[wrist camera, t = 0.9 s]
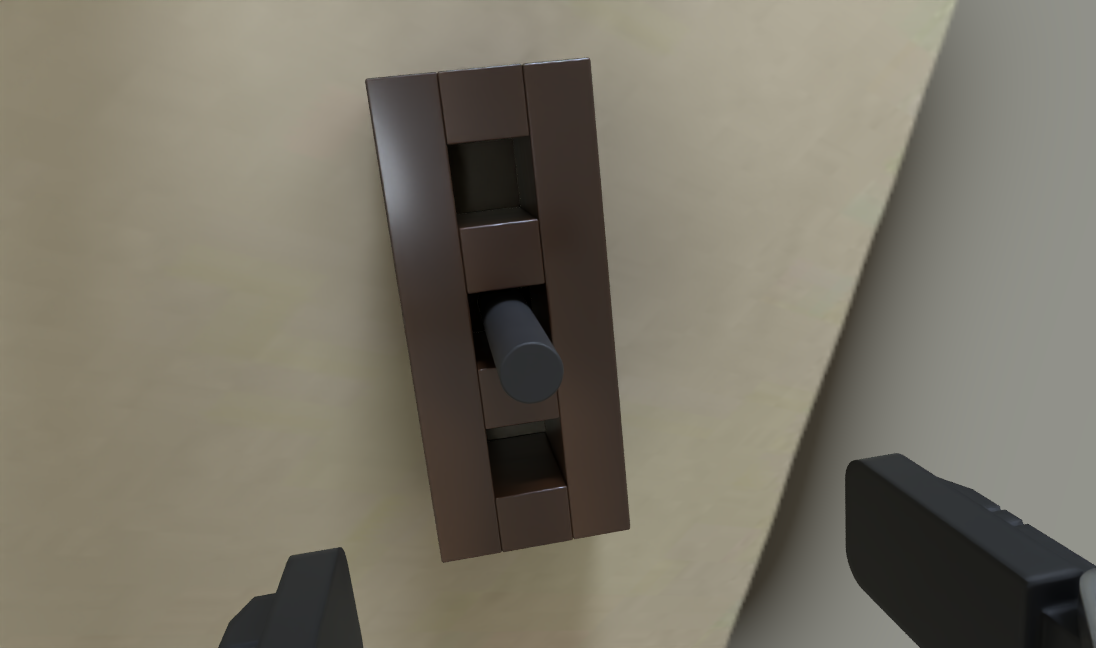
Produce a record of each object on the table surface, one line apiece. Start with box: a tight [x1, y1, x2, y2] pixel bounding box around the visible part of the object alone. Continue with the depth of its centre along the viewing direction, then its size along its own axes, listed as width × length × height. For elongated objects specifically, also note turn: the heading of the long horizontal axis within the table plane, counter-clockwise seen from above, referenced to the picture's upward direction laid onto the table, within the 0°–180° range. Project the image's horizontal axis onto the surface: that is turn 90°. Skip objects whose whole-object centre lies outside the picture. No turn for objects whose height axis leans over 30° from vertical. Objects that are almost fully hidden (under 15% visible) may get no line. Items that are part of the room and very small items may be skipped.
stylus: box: [478, 287, 564, 404], centre depth 28 cm, size 2×2×12 cm
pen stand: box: [365, 58, 630, 563], centre depth 31 cm, size 8×19×6 cm, turn 6°
